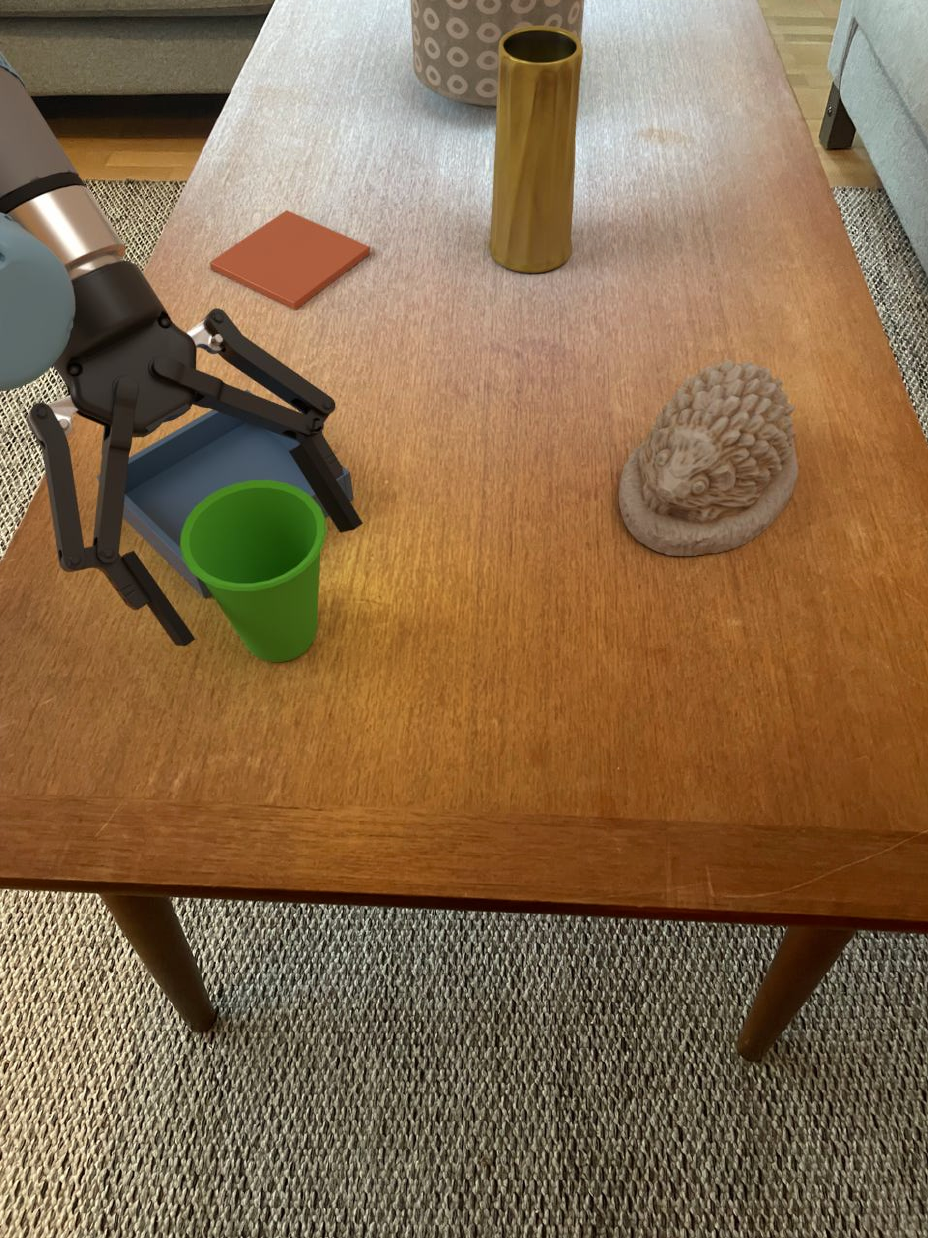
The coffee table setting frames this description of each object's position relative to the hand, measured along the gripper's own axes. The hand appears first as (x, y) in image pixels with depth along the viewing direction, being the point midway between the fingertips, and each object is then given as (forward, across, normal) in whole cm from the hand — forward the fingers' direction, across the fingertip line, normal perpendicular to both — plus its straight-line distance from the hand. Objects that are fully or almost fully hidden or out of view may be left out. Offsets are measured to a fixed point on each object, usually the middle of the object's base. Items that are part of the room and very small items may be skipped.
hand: (272, 583), depth 65 cm
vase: (-10, -46, -19) cm, 51 cm away
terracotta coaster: (-21, -28, -30) cm, 46 cm away
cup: (+4, 0, -5) cm, 6 cm away
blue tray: (-5, -5, -14) cm, 16 cm away
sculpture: (+13, -33, +4) cm, 35 cm away
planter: (-27, -66, -37) cm, 80 cm away
